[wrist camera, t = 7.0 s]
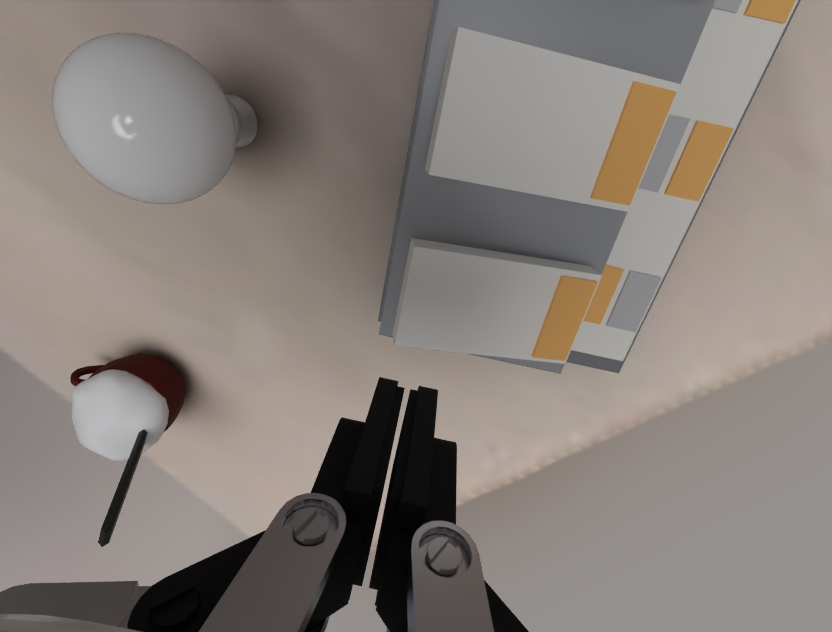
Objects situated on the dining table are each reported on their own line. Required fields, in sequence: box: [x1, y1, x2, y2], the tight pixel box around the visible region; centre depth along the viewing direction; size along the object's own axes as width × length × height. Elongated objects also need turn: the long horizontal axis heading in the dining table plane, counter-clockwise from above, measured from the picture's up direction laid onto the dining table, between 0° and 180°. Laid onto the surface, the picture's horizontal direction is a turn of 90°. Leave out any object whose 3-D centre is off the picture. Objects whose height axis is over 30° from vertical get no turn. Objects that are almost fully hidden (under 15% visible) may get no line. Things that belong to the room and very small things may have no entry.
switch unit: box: [378, 0, 800, 374], centre depth 21 cm, size 26×16×5 cm, turn 169°
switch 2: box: [393, 238, 602, 364], centre depth 21 cm, size 5×9×1 cm, turn 79°
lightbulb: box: [52, 33, 258, 204], centre depth 20 cm, size 6×6×11 cm
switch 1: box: [425, 27, 682, 212], centre depth 17 cm, size 5×9×1 cm, turn 79°
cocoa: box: [71, 354, 186, 547], centre depth 28 cm, size 10×6×12 cm, turn 43°
